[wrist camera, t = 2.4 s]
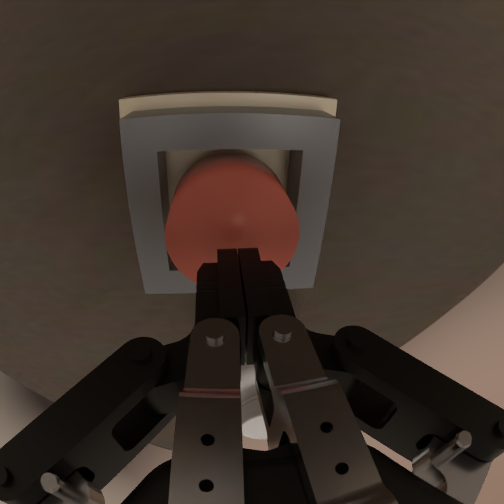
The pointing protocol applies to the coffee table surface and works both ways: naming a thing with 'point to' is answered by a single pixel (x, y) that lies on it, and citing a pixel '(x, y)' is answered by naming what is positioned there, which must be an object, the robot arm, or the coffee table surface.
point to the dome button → (229, 213)
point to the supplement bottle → (251, 405)
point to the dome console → (226, 141)
